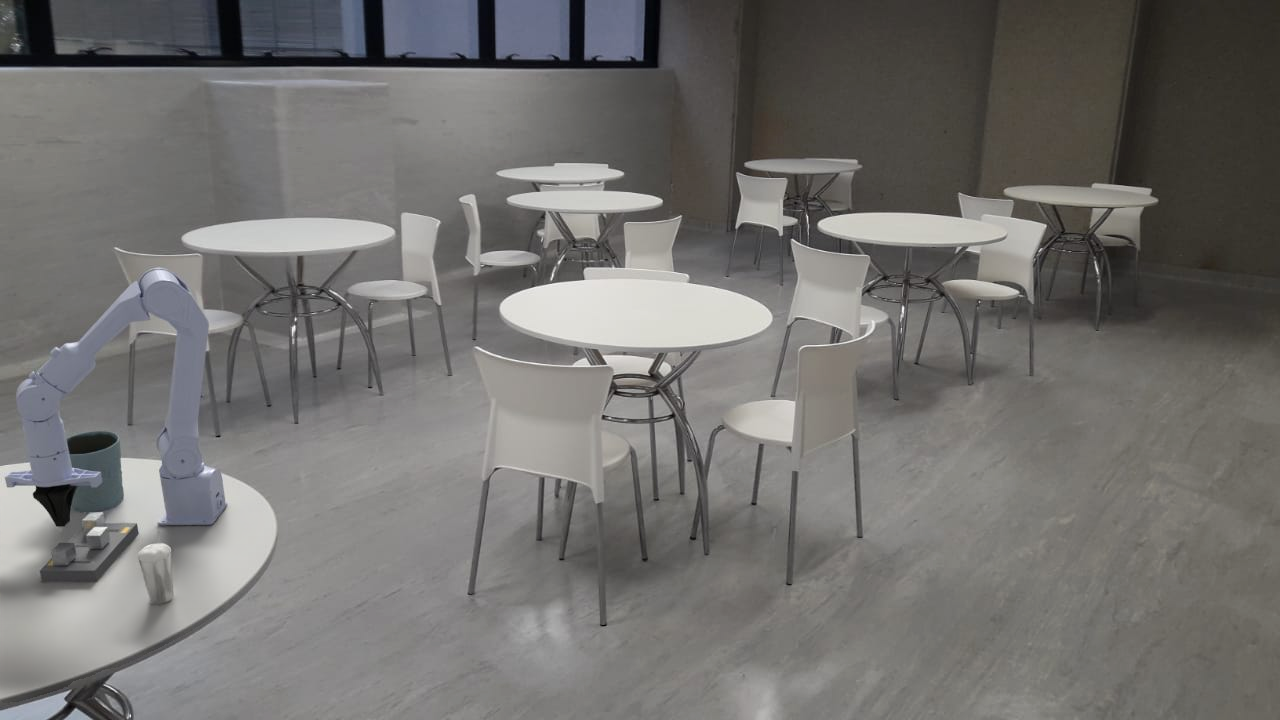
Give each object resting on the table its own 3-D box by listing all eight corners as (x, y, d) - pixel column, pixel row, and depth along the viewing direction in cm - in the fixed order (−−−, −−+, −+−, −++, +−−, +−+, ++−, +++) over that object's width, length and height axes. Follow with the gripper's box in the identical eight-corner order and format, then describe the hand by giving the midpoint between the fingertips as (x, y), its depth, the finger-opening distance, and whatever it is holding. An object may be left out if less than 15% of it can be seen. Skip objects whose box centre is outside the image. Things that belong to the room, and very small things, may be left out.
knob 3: (110, 539, 164) (107, 526, 163) (102, 548, 161) (99, 535, 160) (96, 539, 164) (94, 527, 163) (88, 548, 161) (85, 535, 160)
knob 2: (105, 524, 168) (103, 512, 168) (98, 533, 166) (95, 520, 165) (92, 524, 168) (90, 512, 168) (84, 533, 166) (82, 520, 165)
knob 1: (76, 555, 159) (73, 542, 158) (67, 565, 156) (65, 551, 156) (62, 555, 159) (59, 542, 158) (53, 565, 156) (50, 551, 155)
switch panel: (138, 533, 170) (136, 522, 170) (97, 581, 156) (94, 570, 156) (88, 533, 170) (86, 522, 169) (41, 581, 156) (39, 570, 155)
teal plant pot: (87, 488, 186) (76, 429, 182) (140, 490, 185) (130, 431, 181) (55, 514, 176) (42, 453, 172) (111, 516, 176) (100, 454, 172)
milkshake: (183, 586, 155) (173, 530, 152) (173, 605, 150) (164, 548, 147) (152, 588, 155) (142, 532, 151) (141, 608, 150) (131, 550, 146)
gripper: (104, 439, 166) (118, 512, 171) (16, 439, 165) (31, 512, 170) (84, 458, 159) (98, 532, 164) (-9, 458, 159) (8, 533, 163)
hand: (63, 523), depth 167 cm, fingers closed
